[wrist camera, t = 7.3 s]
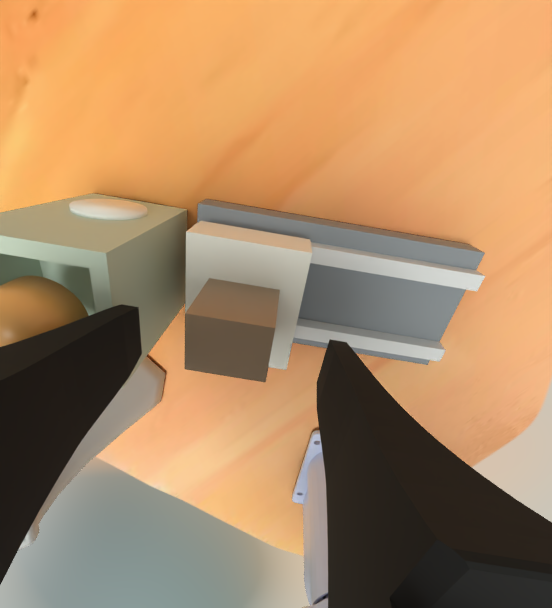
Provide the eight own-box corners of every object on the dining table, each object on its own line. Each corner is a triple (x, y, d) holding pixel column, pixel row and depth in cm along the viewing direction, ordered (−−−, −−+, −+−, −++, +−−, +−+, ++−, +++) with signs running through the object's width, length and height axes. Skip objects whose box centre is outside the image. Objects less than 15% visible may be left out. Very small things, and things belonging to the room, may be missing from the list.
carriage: (287, 345, 16) (284, 419, 12) (197, 330, 16) (159, 399, 12) (310, 239, 13) (317, 283, 9) (200, 220, 13) (152, 256, 9)
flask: (56, 381, 22) (-103, 534, 13) (86, 315, 19) (-93, 456, 10) (143, 423, 24) (53, 585, 15) (184, 369, 21) (101, 530, 12)
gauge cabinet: (186, 301, 18) (122, 388, 11) (105, 288, 18) (-5, 368, 11) (187, 205, 15) (105, 246, 9) (92, 189, 15) (-63, 218, 9)
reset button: (96, 355, 11) (58, 393, 9) (16, 342, 11) (-38, 379, 9) (84, 283, 10) (36, 313, 8) (-8, 268, 10) (-76, 295, 8)
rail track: (418, 349, 19) (432, 373, 17) (201, 313, 18) (190, 334, 16) (468, 244, 15) (494, 258, 13) (206, 198, 15) (192, 206, 13)
